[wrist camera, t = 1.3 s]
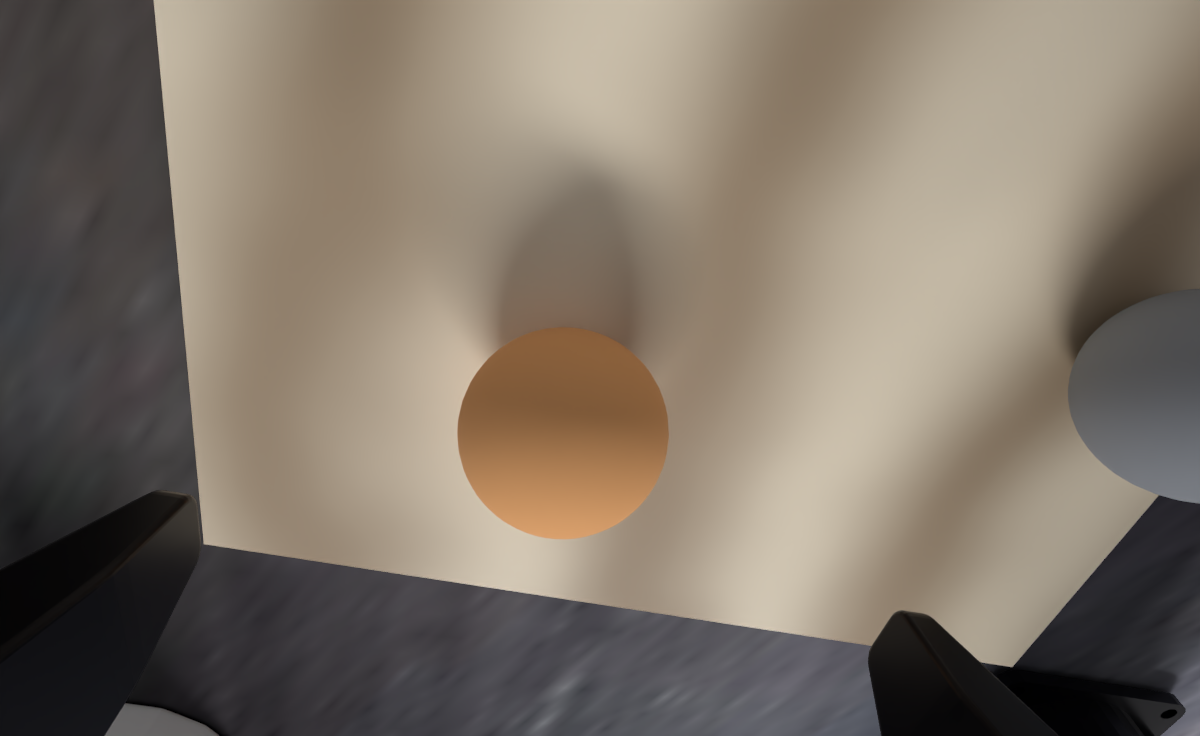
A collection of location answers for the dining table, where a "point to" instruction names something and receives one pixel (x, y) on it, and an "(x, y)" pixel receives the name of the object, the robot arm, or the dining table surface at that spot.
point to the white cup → (155, 723)
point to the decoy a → (1144, 394)
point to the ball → (563, 433)
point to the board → (684, 283)
